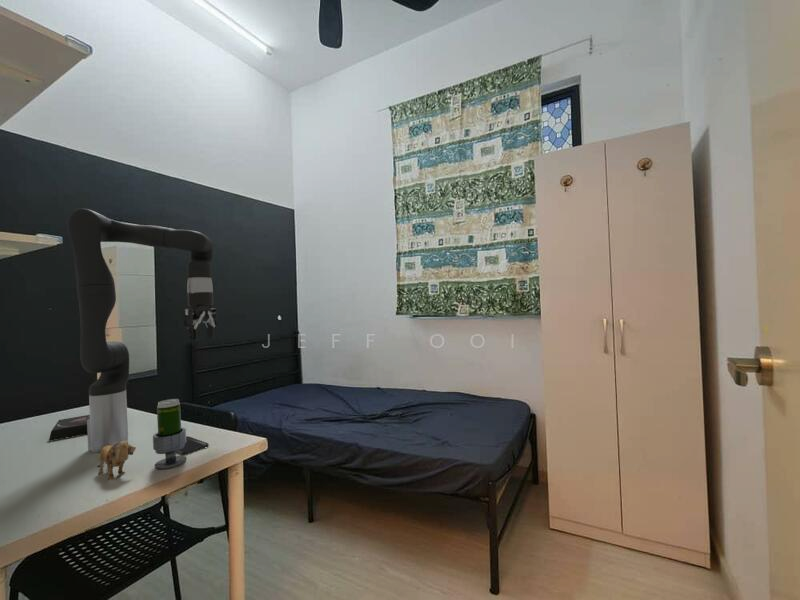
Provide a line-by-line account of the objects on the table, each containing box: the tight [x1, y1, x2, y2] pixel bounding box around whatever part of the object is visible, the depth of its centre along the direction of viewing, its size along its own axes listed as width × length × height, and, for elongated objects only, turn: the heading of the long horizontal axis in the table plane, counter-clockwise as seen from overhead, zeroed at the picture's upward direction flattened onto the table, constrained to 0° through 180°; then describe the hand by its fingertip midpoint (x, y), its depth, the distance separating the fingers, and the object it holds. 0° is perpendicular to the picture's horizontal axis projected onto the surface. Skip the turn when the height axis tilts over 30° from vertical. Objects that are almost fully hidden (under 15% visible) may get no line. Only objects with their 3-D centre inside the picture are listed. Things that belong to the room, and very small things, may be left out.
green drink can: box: [156, 398, 182, 437], centre depth 99 cm, size 5×5×12 cm
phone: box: [176, 435, 210, 456], centre depth 111 cm, size 8×1×15 cm
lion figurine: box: [96, 441, 137, 481], centre depth 94 cm, size 15×5×9 cm, turn 64°
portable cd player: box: [48, 414, 90, 441], centre depth 134 cm, size 16×17×4 cm
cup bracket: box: [152, 427, 187, 471], centre depth 99 cm, size 7×7×8 cm
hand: (202, 339), depth 121 cm, fingers open, 8 cm apart
